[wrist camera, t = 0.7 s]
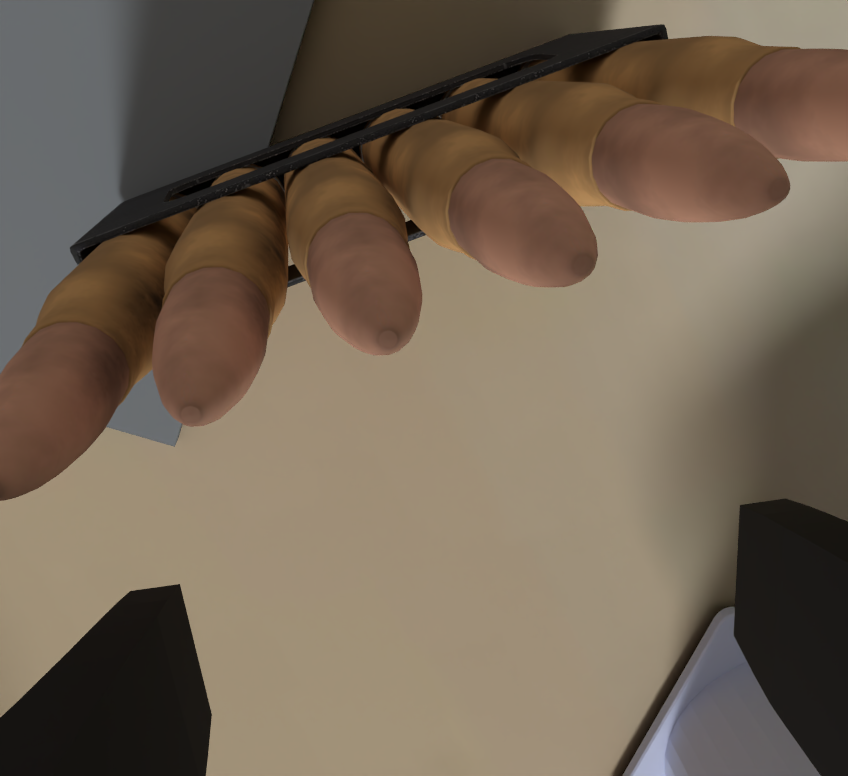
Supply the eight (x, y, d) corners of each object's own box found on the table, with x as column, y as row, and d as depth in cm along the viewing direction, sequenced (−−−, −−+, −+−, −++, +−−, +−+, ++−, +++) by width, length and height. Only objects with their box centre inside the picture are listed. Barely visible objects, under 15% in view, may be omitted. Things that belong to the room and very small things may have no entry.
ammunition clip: (154, 282, 18) (-57, 619, 7) (115, 204, 17) (-193, 438, 6) (593, 116, 18) (1079, 181, 7) (574, 32, 17) (1080, -43, 6)
